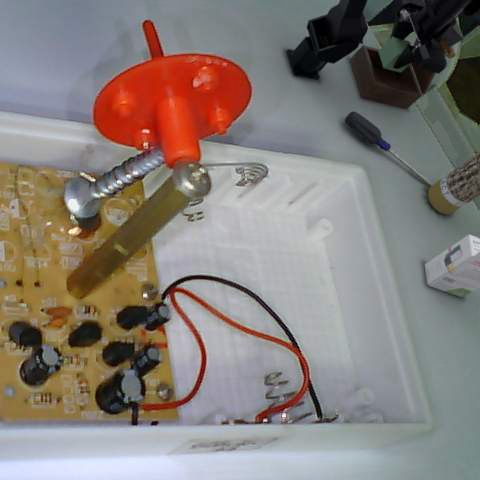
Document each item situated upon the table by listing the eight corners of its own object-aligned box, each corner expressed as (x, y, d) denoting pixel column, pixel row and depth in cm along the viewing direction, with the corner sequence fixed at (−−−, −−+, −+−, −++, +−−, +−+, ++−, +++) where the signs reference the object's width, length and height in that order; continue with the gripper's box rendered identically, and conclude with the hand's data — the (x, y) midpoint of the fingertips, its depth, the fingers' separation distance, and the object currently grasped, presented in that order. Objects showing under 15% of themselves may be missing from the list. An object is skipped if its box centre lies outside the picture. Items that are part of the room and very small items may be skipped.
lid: (444, 50, 154) (468, 49, 155) (428, 10, 159) (453, 9, 160) (421, 94, 166) (445, 92, 167) (408, 56, 171) (430, 54, 172)
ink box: (459, 276, 151) (519, 239, 139) (462, 298, 148) (524, 263, 137) (423, 262, 148) (481, 224, 137) (425, 285, 145) (485, 248, 134)
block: (383, 68, 162) (398, 53, 158) (377, 51, 164) (392, 36, 160) (400, 72, 164) (415, 58, 160) (394, 55, 166) (409, 41, 162)
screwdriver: (443, 190, 162) (456, 180, 159) (440, 201, 160) (454, 192, 157) (342, 117, 159) (354, 105, 156) (338, 127, 157) (349, 116, 154)
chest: (361, 98, 165) (375, 84, 161) (349, 59, 170) (363, 44, 166) (406, 109, 170) (422, 95, 166) (394, 71, 175) (408, 57, 171)
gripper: (491, 52, 150) (433, 101, 162) (461, -19, 159) (409, 33, 171) (448, 39, 145) (392, 91, 157) (420, -33, 154) (369, 21, 166)
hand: (392, 58), depth 163 cm, fingers closed on block, 4 cm apart
